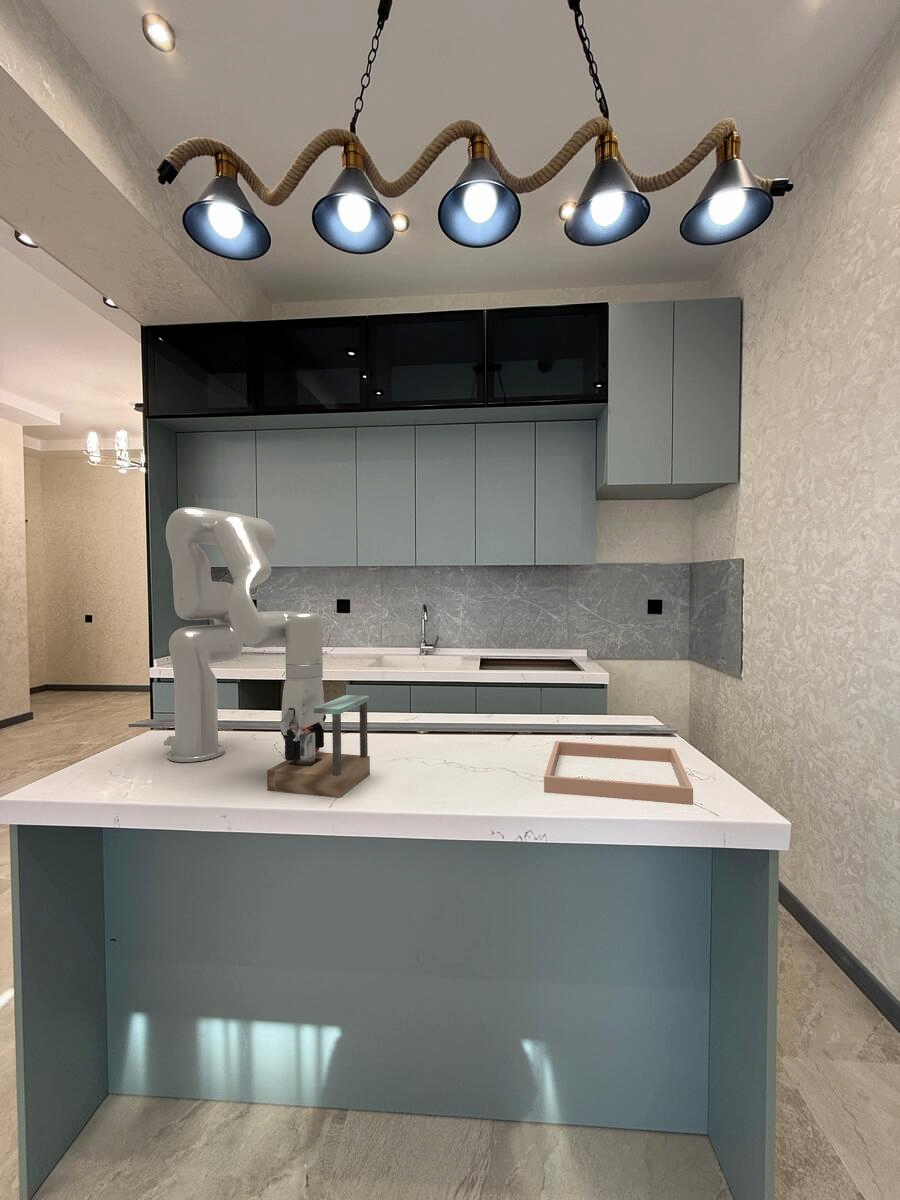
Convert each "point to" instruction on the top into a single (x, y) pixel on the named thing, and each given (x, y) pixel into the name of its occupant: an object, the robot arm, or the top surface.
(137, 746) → the top surface
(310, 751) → the peg
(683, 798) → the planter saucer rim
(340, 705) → the socket station
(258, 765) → the top surface
